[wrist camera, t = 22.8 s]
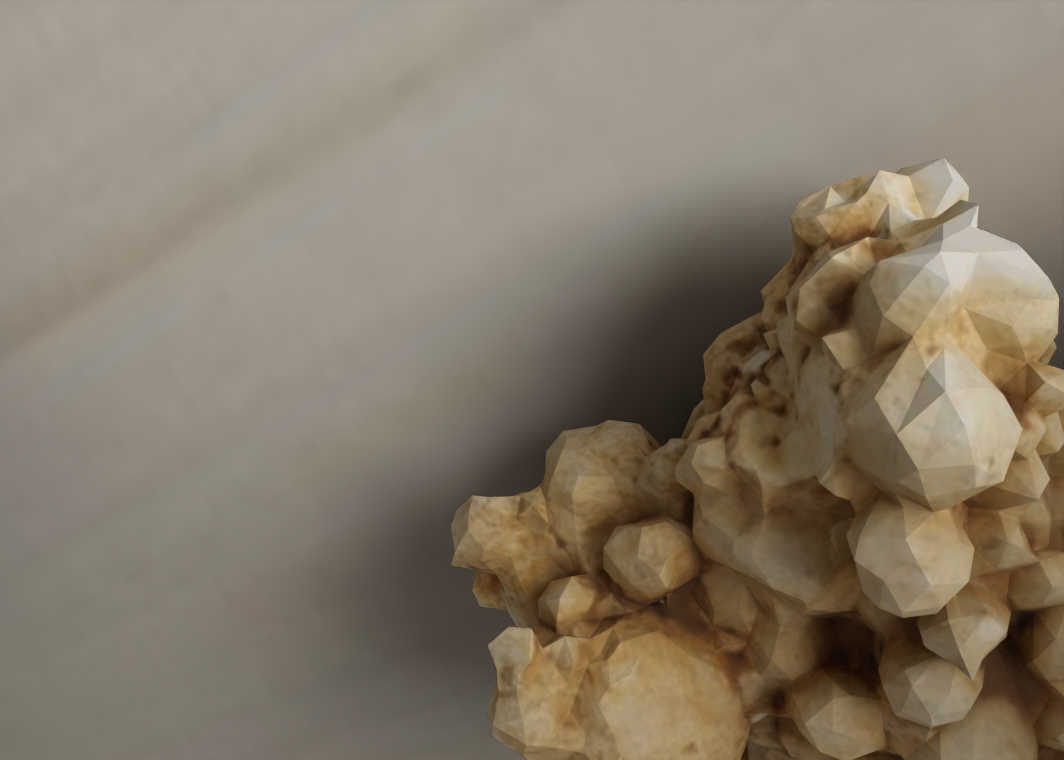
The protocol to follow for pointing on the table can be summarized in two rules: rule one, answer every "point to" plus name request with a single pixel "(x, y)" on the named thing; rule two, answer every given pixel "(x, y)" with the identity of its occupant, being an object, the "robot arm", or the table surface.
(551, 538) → the mineral formation
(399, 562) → the table surface
